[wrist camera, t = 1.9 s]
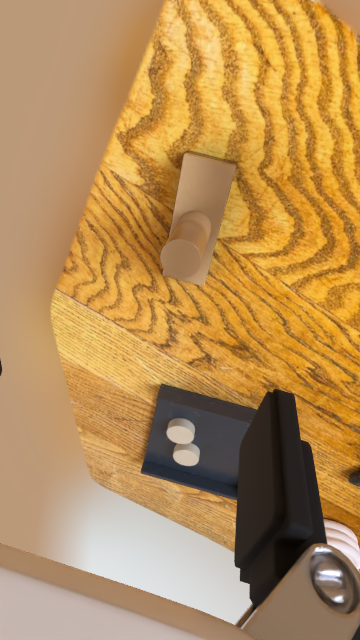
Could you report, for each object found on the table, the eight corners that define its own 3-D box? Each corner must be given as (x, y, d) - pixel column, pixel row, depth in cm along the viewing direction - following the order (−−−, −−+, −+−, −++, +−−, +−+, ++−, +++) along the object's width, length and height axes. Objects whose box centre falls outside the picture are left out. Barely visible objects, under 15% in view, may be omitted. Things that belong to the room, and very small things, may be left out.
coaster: (333, 510, 43) (339, 539, 40) (369, 545, 46) (377, 574, 43) (268, 524, 47) (269, 551, 45) (304, 555, 50) (308, 581, 48)
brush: (167, 265, 28) (141, 315, 21) (188, 150, 22) (163, 167, 16) (206, 276, 27) (193, 329, 21) (237, 162, 22) (232, 184, 16)
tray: (144, 459, 44) (140, 473, 42) (161, 383, 35) (157, 397, 34) (244, 487, 43) (244, 502, 42) (285, 417, 35) (287, 433, 33)
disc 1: (166, 431, 39) (164, 439, 38) (171, 414, 37) (168, 423, 36) (192, 438, 39) (190, 447, 38) (197, 422, 37) (196, 430, 36)
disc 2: (172, 453, 41) (170, 461, 40) (177, 438, 39) (175, 447, 38) (196, 460, 41) (195, 468, 40) (202, 445, 39) (201, 454, 38)
